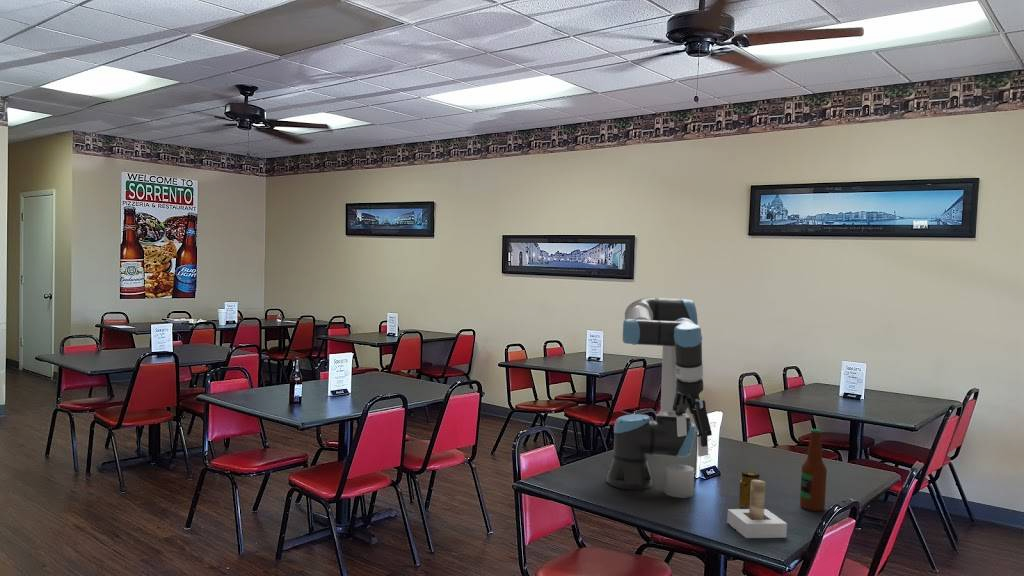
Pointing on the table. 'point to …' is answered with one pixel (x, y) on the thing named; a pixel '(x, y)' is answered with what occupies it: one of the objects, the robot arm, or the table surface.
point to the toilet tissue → (679, 480)
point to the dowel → (757, 500)
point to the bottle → (813, 476)
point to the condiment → (746, 488)
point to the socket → (757, 524)
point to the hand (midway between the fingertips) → (692, 445)
